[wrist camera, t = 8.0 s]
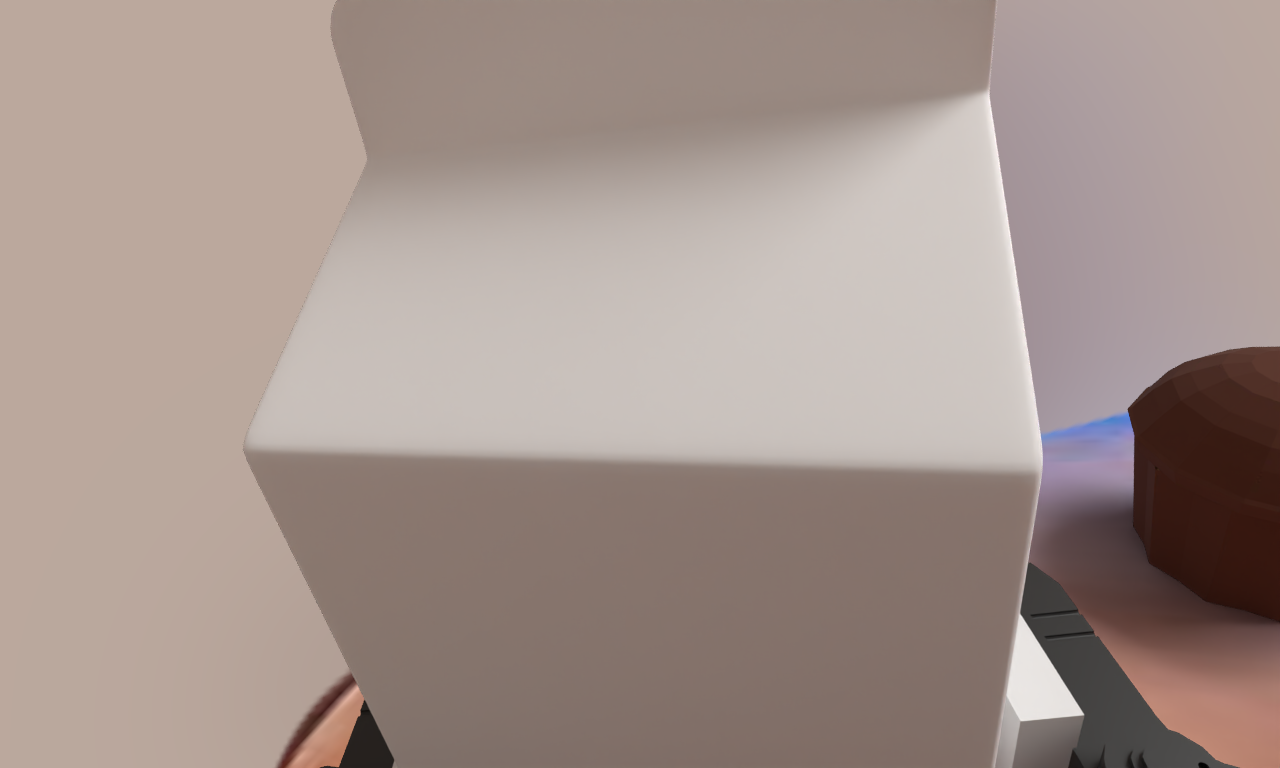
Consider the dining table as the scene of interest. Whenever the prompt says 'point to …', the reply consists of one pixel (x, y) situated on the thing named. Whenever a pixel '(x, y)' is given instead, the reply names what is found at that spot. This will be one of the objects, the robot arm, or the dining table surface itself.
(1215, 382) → the muffin
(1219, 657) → the dining table surface
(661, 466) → the milk
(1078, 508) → the dining table surface
